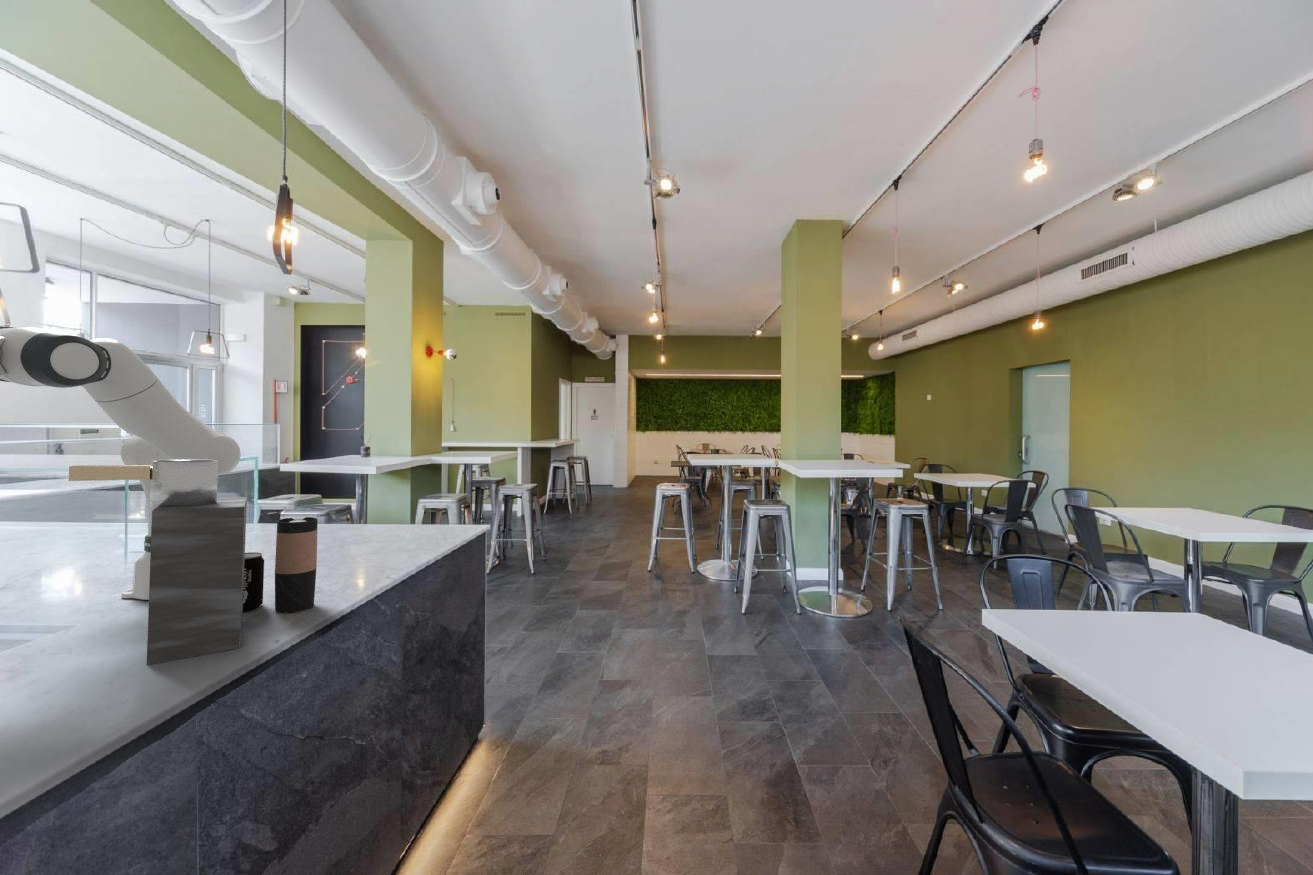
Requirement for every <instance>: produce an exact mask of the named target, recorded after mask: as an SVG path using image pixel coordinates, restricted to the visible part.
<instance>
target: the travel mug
mask: <svg viewBox="0 0 1313 875" xmlns="http://www.w3.org/2000/svg"><path fill="white" fill-rule="evenodd" d="M275 538H276V540H275V558H274V559H275V561H274V562H275V563H274V564H275V565H274V610H275V612H276V613H279V614H291V613H292V614H294V613H299V612H304V611H307V610H309V609H312V608H313V607H314V605H315V595H316V583H317V582H316V580H317V579H316V578H317V567H318V566H317V561H318V560H317V558H318V518H317V517H313V516H311V517H310V516H307V517H304V518H302V519H294V518H292V517H286V518H280V519H278V520H277V522H276V537H275ZM293 612H294V613H293Z"/></svg>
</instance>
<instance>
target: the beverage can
mask: <svg viewBox="0 0 1313 875" xmlns="http://www.w3.org/2000/svg"><path fill="white" fill-rule="evenodd" d="M264 575H265V559H264V557H263V553H262V552H257V551H255V552H254V551H253V552H250V551H249V552H245V563H244V592H243V613H248V612H253V611H255V610H258V609H259V608H260V607H261V606H263V605H262V604H263V602H264V583H265V581H264V578H265V576H264Z"/></svg>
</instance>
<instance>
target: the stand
mask: <svg viewBox="0 0 1313 875" xmlns="http://www.w3.org/2000/svg"><path fill="white" fill-rule="evenodd" d="M247 500H248V497H247V496H246V497H245V496H241V497H240V496H239V497H238V496H237V497H235V496H234V497H217V503H215V504H211V505H204V506H194V507H174V508H160V507H157V508H155V509H154V510H153V511H152V526H151V554H150V583H149V600H148V614H147V615H148V616H147V619H148V620H147V641H146V642H147V643H146V644H147V645H146V646H147V647H146V648H147V649H146V665H147V666H148V665H154V664H155V665H156V664H161V663H165V662H171V661H177V660H181V659H188V658H193V657H198V656H203V655H209V654H214V653H220V652H225V651H232V650H236V649H238V650H239V649H240V647H241V646H240V645H241V637H242V628H243V617H244V615H243V614H244V612H243V592H244V563H245V553H246V531H247V530H246V527H247Z"/></svg>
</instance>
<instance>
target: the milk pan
mask: <svg viewBox="0 0 1313 875" xmlns="http://www.w3.org/2000/svg"><path fill="white" fill-rule="evenodd" d="M218 477H219V475H218V461H216V460H211V459H163V460H157V461H151V465H125V464H124V465H119V464H117V465H115V464H113V465H110V464H109V465H105V464H104V465H103V464H102V465H100V464H98V465H96V464H95V465H91V464H90V465H71V466H68V482H80V481H81V482H82V481H83V482H84V481H85V482H86V481H87V482H90V481H91V482H92V481H93V482H94V481H137V480H138V481H139V480H150V479H151V486H150V506H151V507H160V508H174V507H194V506H204V505H211V504H215V503H217V498H218V482H219V481H218V480H219V479H218Z"/></svg>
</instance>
